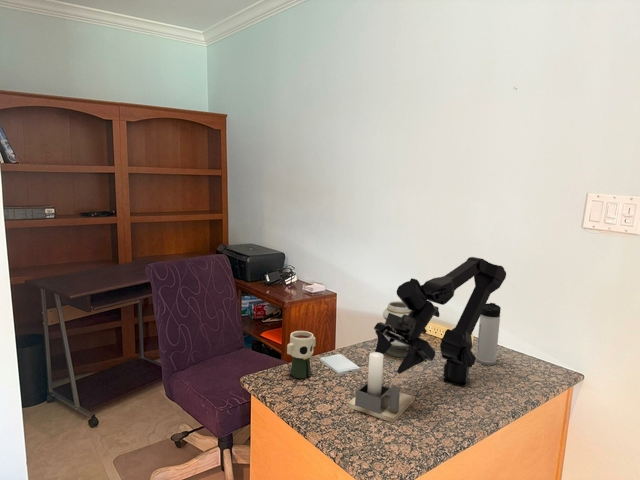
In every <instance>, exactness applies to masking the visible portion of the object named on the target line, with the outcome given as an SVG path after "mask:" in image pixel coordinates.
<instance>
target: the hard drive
mask: <svg viewBox="0 0 640 480" xmlns="http://www.w3.org/2000/svg"><path fill="white" fill-rule="evenodd" d="M319 361H320V362H321V363H322V364H324V365H325V366H327V367H328V368H329V369H330V370H331V369H332V370H331V371H333V372H334V373H335V374H336V375H338V376H343V375H347V374H351V373H352V374H353V373H357V372H361V371H362V368H361V367H360V366H358V365H357V364H356V363H354V362H353V361H351V360H350V359H348V358H347V357H345V356H344V355H343V354H341V353H338V354H332V355H328V356H322V357H320V358H319Z"/></svg>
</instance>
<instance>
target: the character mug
mask: <svg viewBox="0 0 640 480" xmlns="http://www.w3.org/2000/svg"><path fill="white" fill-rule="evenodd" d="M314 347H316V337H315V336H314V333H312V332H309V331H308V330H307V331H306V330H295V331H293V332H291V333H290V336H289V343H288V344H287V345H286V354H287V355H290V356H291V357H292V361H291V367H290V376H293V377H295V378H297V379H306V378H307V376H308V378H309V377H310V376H311V375H312V372H311V371H312V370H311V369H312V368H311V361H310V359H311V357H312V356H313V354H314Z"/></svg>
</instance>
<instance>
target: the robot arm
mask: <svg viewBox="0 0 640 480" xmlns="http://www.w3.org/2000/svg"><path fill="white" fill-rule="evenodd" d="M472 278H473V281H474V288H473V289H472V293H471V294H470V296H469V298H468V300H467V303H466V305H465V306H464V309H463V311H462V313H461V315H460V318H459V320H458V322H457V324H456V325H455V326H454V328H452V329H449V328H448V329H446V330H445V332H444V335H443V337H442V338H441V339H440V344H439V349H440V354H441V357H442V359H444V360H446V362H445V363H444V364H443V380H442V381H443V382H445V383H448V384H453V385H456V386H459V387H463V388H464V387H466V385H467V384H468V383H469V381H470V380H471V378H470V377H469V376H470V374H469V373H470V368H472V367H473V366H474V365H475V363H476V362H477V361H476V356H475V354H474V353H473V352H472V348H473V339H472V334H473V332H474V330H475V327H476V325H477V323H478V322H479V320H480V315H481V313H482V311H483V309H484V307H485V305H486V304H487V302H488V301H489V298H490V296H491V295H492V294H493V293H494V292H496V291H497V290H498V289H500V288H501V286H502V285H503V283H504V281H505V280H506V278H507V271H506V270H505V268H504V266H503V265H498V264H494V263H492V262H489V261H487V260H485V259H484V258H481V257H476V256H475V257H474V256H469V257H468V258H467V259H466V260H465V261H464V262H463V263H461V264H460V265H459V266H457V267H456V268H454V269H452V270H451V271H449V272H448V273H447V274H446V275H443V276H440V277H433V278H432V279H428V280H426V281H425V282H423V284H421V283H420V281H419V280H418V279H416V278H412V277H411V279H409V280H408V281H406V282H405V281H404V282H403V283H402V284H400V285H399V286H398V287H397V289H396V295H397V297H398V298H399V300H400V301H402V302H403V303H404V304H405V306H406V307H407V308H408V309H409V310H411V311H410V313H409V314H408V315H405V314H404V315H403V316H402V317H399V316H396V315H394V314H391V313H389V314H388V316H387V319H385V322H381V321H380V322H377V323H376V324H375V326H373V329H374V330H375V334H376V337H377V341H376V347H375V351H374V352H378V353H382V354H383V355H385V354H384V353H385V352H386V351H387V350H388V349H389V348H390V347H391V346H392V344H391V342H394V341H395V340H396V341H398V342H401V343H403V344H405V345H407V346H409V347H408V348H407V349H408V353H407V355H406V357H405V358H404V359H402V362H401V363H400V365H399V366H398V368H397V370H396V373H397V374H403V373H404V372H406V371H407V370H409V369H411V368H413V367H415V366H417V365H419V364H421V363H427V361H429V362H432V361H433V360H434V358H435V357H436V350H435V349H434V348H433V346H432V345H431V344H430V343H429V342H428V341H427V340H425V339H422V338H420V336H421V335H422V334H423V335H424V334H427V331H428V330H427V329H426V327H427V326H428V324H429V323H430V321H431V320H432V318H433V317H437V318H439V317H440V312H439V310H440V309H439V307H438V306H435V305H434V304H433V303H435V304H438V305H442V306H443V305H446V304H447V303H448V302H449V301H451V299H452V298H453V297H454V296H455V291H456V290H457V289H459V287H461V286H463V285H464V284H465V283H467V282H468V281H470V280H471V279H472ZM388 324H389V325H391V326H392V327H393V329H394V330H395V331H396V333H395V332H394V331H393V330H392V328H391V327H390V326H389V325H388ZM400 338H401V339H400Z"/></svg>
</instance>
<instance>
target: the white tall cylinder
mask: <svg viewBox="0 0 640 480" xmlns="http://www.w3.org/2000/svg"><path fill="white" fill-rule="evenodd" d="M368 356H369V357H368V376H367V381H368V390H367V393H368V394H371V395H374V396H377V397H381V388H382V385H383V369H384V356H385V354H382V353H378V352H375V351H374V352H369V355H368Z"/></svg>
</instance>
